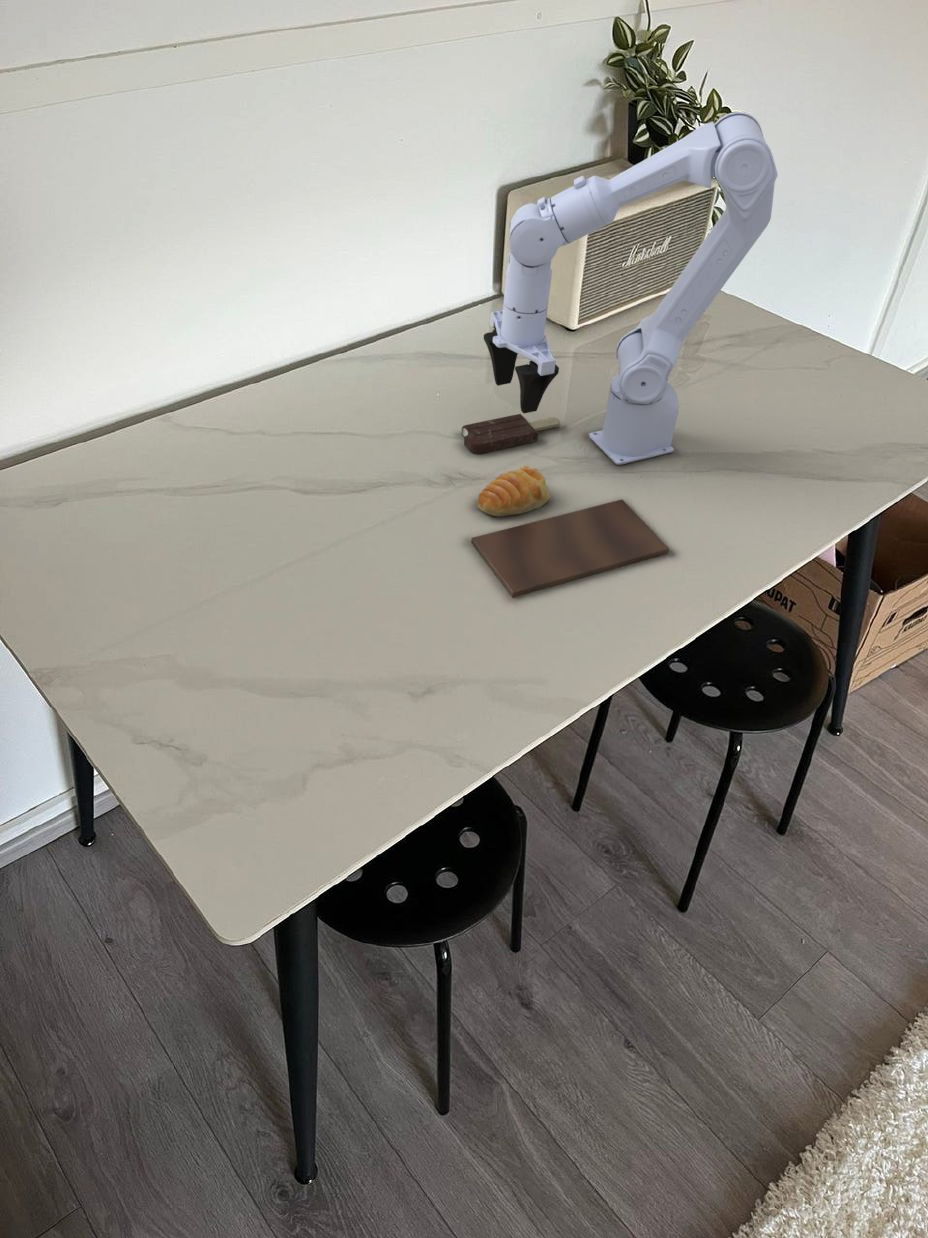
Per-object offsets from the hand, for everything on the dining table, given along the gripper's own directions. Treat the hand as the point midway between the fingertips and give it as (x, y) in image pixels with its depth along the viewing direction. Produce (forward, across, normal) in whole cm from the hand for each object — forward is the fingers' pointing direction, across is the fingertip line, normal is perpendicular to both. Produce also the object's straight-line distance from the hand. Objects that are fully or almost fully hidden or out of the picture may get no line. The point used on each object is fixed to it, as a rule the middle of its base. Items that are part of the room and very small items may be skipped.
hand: (515, 396), depth 142 cm
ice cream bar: (+6, 0, 0) cm, 7 cm away
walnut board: (+6, +25, -5) cm, 26 cm away
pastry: (+6, +14, -7) cm, 17 cm away
